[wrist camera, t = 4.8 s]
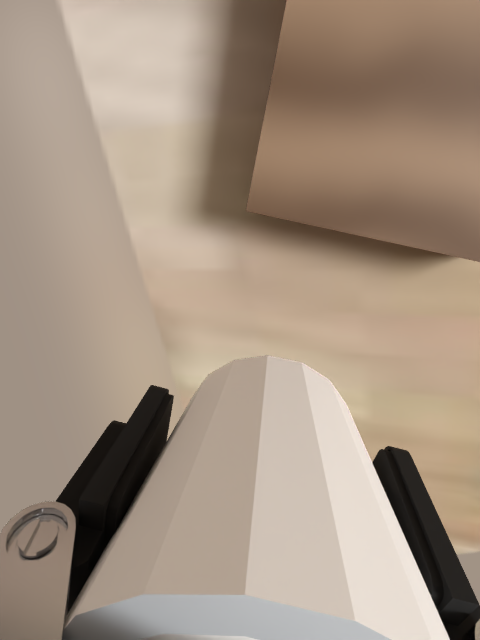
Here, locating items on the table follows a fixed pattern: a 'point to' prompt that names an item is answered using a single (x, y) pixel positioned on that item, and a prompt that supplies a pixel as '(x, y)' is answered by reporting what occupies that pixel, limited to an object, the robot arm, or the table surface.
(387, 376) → the table surface
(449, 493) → the table surface
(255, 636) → the shot glass
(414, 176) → the walnut block
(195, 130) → the table surface
